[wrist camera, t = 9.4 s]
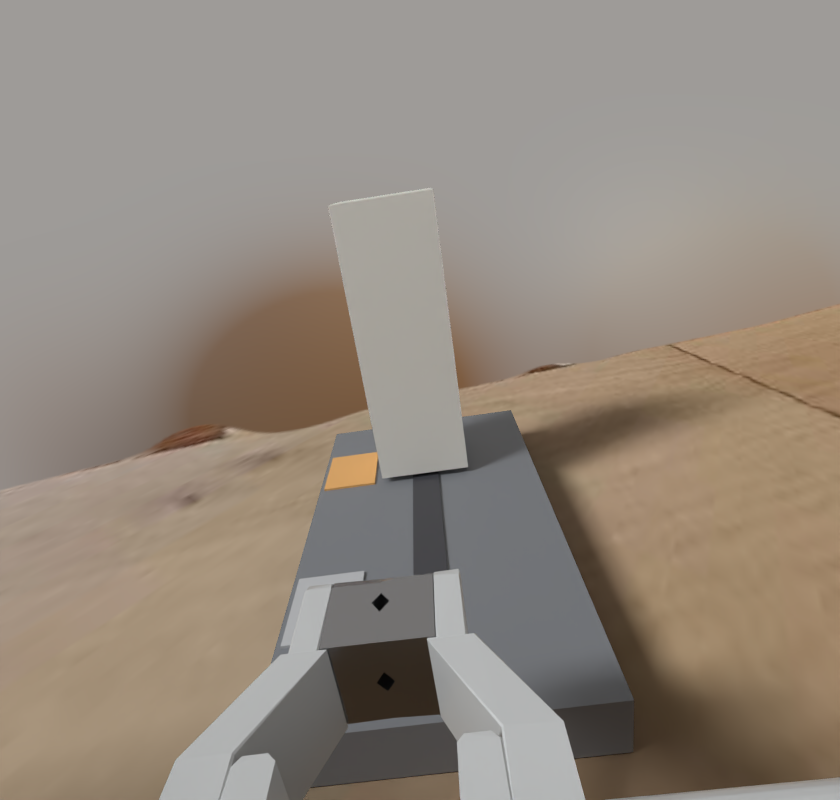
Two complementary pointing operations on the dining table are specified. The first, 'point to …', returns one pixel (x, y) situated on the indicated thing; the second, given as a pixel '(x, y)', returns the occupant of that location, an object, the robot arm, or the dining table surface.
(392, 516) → the switch panel
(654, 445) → the dining table surface
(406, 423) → the switch tab
